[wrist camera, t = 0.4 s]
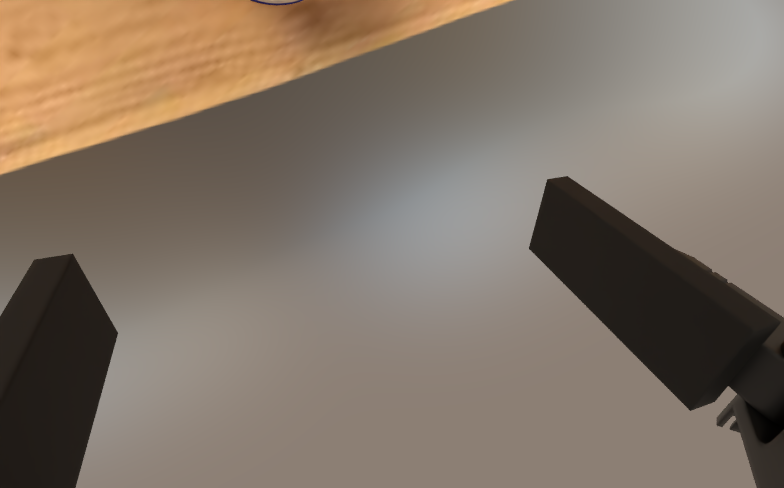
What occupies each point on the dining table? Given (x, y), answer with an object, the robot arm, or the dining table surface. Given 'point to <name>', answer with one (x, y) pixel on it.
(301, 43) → the dining table surface
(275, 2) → the teacup with lid
